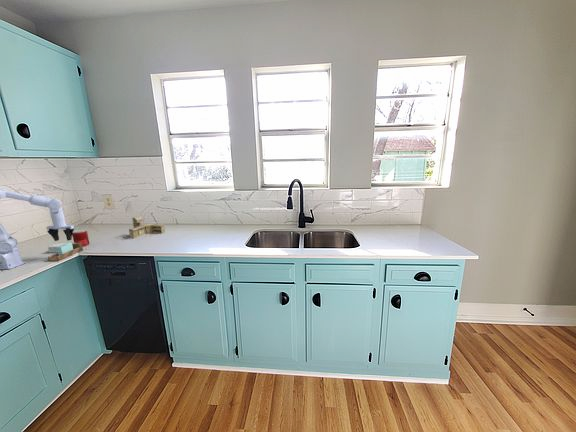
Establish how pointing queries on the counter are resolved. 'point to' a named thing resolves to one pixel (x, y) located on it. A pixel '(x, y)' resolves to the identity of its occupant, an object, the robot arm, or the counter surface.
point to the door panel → (64, 248)
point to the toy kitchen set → (144, 228)
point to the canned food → (81, 237)
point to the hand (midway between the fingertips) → (63, 240)
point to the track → (67, 253)
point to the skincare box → (54, 248)
